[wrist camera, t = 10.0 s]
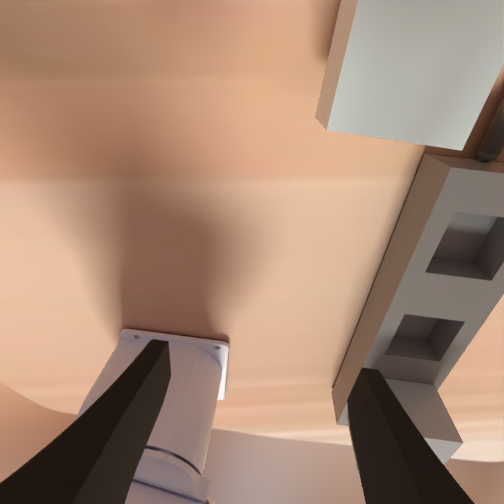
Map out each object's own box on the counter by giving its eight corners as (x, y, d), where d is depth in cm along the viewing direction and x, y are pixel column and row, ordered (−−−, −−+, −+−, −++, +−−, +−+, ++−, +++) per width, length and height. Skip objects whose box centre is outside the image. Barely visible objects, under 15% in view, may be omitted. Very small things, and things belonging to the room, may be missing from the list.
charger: (311, 112, 16) (326, 130, 11) (339, -20, 13) (378, -82, 8) (402, 126, 16) (461, 150, 11) (450, -3, 13) (560, -54, 8)
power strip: (331, 392, 28) (346, 479, 22) (513, -77, 12) (757, -236, 6) (395, 400, 28) (427, 490, 22) (666, -61, 12) (1075, -207, 6)
